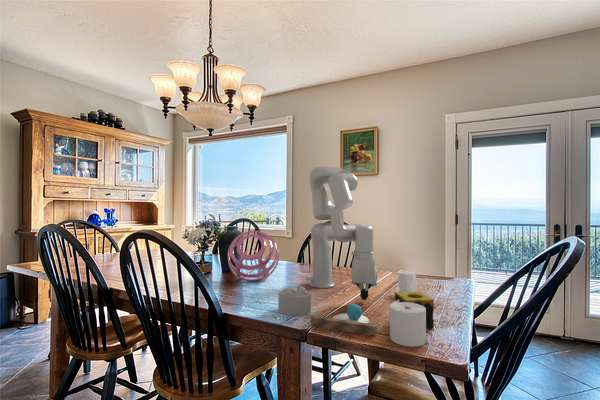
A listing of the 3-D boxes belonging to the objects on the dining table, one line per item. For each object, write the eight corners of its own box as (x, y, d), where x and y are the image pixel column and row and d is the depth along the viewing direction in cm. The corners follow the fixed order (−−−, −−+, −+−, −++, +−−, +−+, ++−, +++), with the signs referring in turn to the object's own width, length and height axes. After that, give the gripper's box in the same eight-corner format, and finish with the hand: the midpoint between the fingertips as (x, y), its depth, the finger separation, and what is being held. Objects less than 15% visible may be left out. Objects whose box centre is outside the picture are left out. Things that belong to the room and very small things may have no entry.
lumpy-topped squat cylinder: (292, 304, 137) (292, 283, 137) (317, 311, 128) (317, 289, 128) (274, 310, 129) (274, 288, 129) (299, 318, 120) (299, 294, 120)
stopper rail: (310, 326, 113) (310, 317, 113) (312, 324, 115) (312, 315, 115) (375, 336, 104) (375, 326, 104) (376, 334, 106) (376, 324, 106)
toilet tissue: (412, 350, 94) (411, 315, 94) (379, 336, 104) (379, 304, 104) (433, 341, 100) (433, 308, 100) (400, 328, 110) (400, 298, 110)
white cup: (417, 297, 146) (417, 274, 146) (398, 296, 148) (398, 273, 148) (414, 292, 154) (414, 270, 154) (397, 291, 155) (397, 270, 155)
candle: (393, 319, 119) (393, 291, 119) (420, 318, 120) (420, 291, 120) (405, 330, 109) (404, 300, 109) (434, 329, 110) (434, 299, 110)
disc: (327, 323, 115) (327, 322, 115) (338, 311, 127) (338, 311, 127) (364, 329, 110) (364, 328, 110) (372, 316, 122) (372, 316, 122)
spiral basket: (242, 239, 202) (235, 216, 180) (285, 250, 198) (285, 228, 176) (224, 281, 187) (214, 262, 164) (270, 295, 183) (268, 277, 161)
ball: (348, 308, 123) (346, 321, 119) (347, 299, 120) (344, 312, 116) (363, 311, 122) (361, 324, 117) (362, 301, 118) (360, 315, 114)
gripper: (344, 255, 138) (344, 299, 138) (380, 258, 132) (380, 303, 132) (349, 253, 145) (349, 294, 145) (383, 255, 139) (384, 298, 139)
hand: (364, 299), depth 138 cm, fingers closed
